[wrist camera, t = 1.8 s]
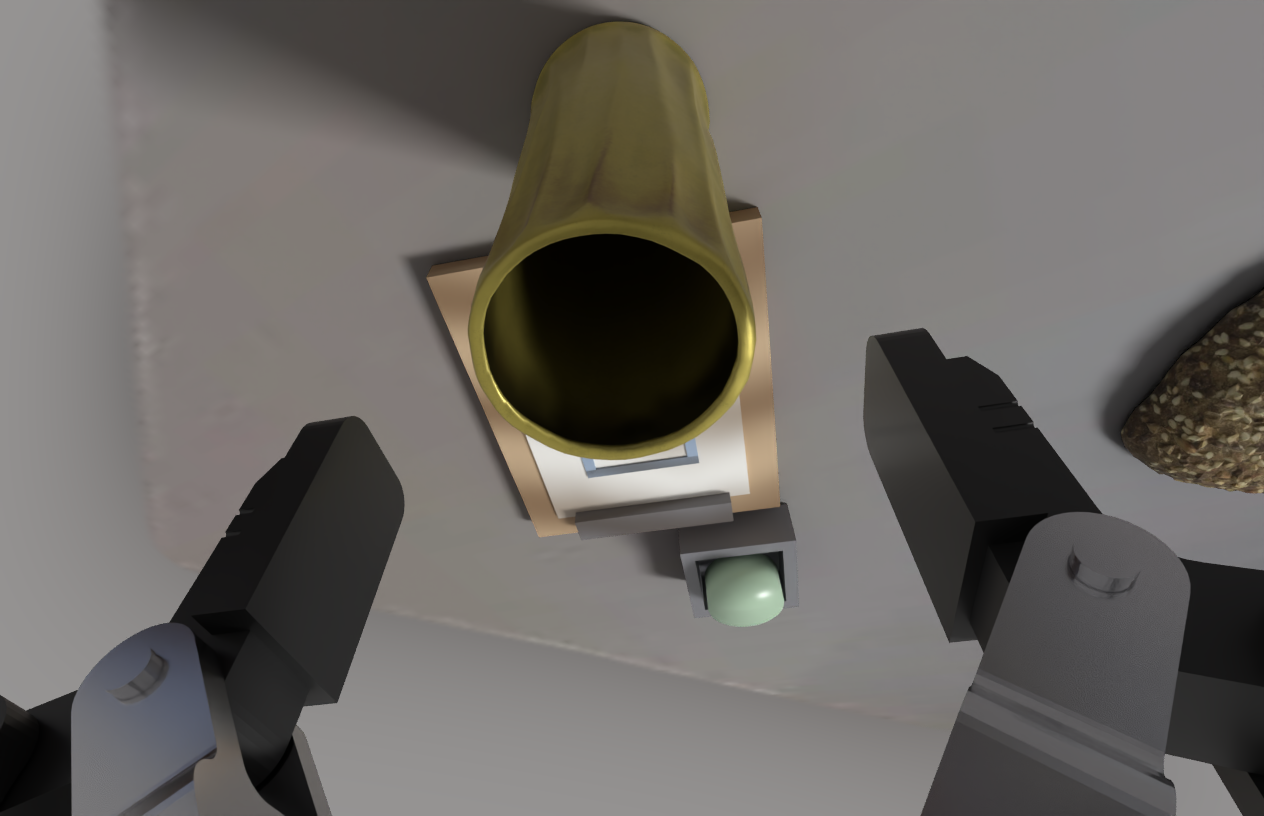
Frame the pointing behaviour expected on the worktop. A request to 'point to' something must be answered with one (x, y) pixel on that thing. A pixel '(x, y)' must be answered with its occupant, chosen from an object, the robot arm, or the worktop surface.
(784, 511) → the button housing
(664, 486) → the clipboard
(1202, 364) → the bread roll
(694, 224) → the vase
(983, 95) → the worktop surface
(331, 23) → the worktop surface
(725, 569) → the button
